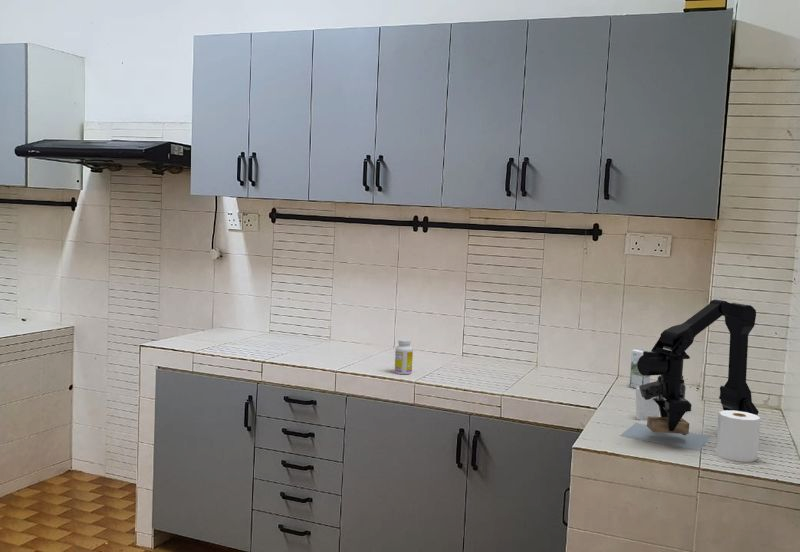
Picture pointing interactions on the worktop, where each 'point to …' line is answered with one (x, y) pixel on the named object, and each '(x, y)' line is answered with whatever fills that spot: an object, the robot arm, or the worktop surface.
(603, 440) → the worktop surface
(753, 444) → the toilet paper
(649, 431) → the grey board
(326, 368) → the worktop surface
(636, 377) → the syrup box
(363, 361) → the worktop surface
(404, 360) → the supplement bottle
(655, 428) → the brown wooden block
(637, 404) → the white cup
